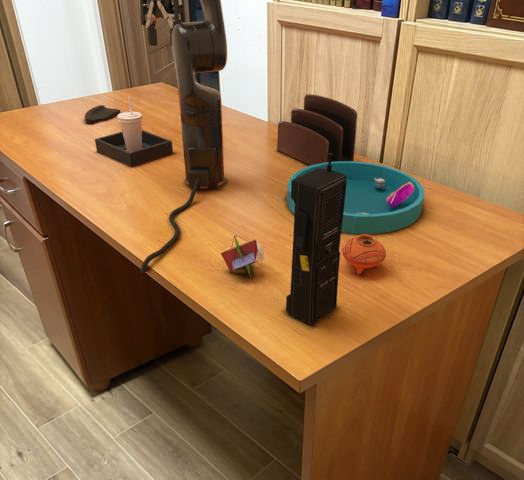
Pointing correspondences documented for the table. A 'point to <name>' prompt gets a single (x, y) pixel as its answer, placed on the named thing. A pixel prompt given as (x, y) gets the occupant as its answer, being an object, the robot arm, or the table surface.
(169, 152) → the dark grey rectangular frame
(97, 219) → the table surface
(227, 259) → the geometric puzzle
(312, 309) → the portable radio
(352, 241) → the pot
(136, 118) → the smoothie
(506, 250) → the table surface
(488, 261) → the table surface
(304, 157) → the letter holder
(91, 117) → the curved wedge
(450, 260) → the table surface
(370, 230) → the round teal tray
